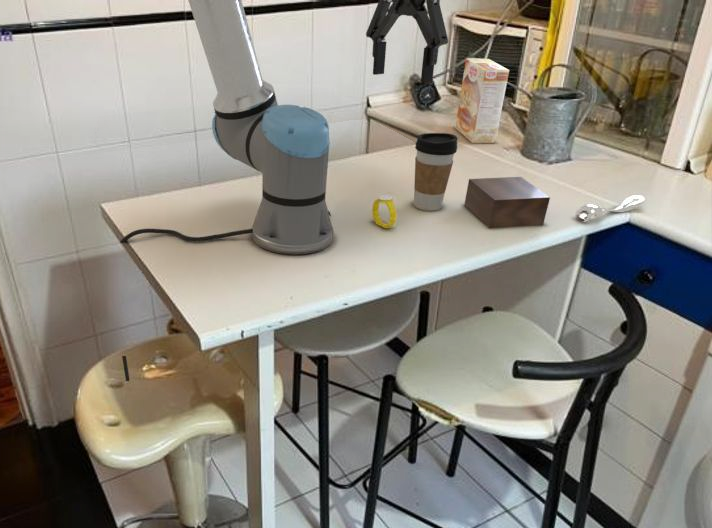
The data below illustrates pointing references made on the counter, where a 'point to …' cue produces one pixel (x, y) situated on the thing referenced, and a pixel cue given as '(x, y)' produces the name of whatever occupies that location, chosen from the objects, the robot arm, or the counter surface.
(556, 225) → the counter surface
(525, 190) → the walnut block
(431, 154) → the coffee cup
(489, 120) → the coffeecake box
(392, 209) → the watch
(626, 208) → the silver scoop
